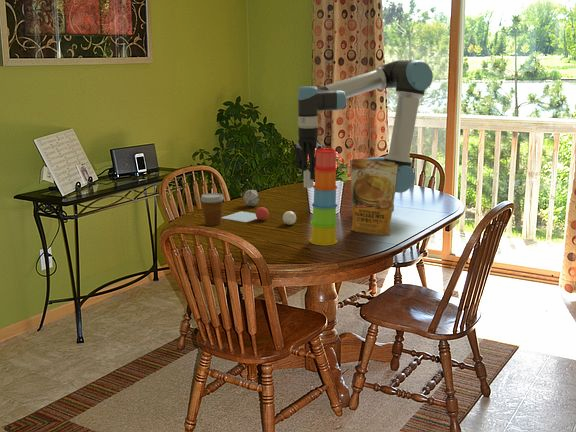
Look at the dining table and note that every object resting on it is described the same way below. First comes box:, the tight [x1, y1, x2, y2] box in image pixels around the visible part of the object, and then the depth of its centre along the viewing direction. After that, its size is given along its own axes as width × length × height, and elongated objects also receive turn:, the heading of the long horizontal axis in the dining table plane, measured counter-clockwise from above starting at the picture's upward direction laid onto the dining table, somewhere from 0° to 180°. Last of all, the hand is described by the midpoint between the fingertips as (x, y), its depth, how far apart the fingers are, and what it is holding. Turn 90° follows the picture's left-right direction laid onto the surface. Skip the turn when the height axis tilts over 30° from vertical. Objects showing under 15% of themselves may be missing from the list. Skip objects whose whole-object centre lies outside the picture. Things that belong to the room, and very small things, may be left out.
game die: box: [241, 188, 262, 208], centre depth 321 cm, size 9×8×10 cm
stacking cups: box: [309, 147, 338, 247], centre depth 258 cm, size 10×10×35 cm
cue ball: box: [282, 210, 297, 225], centre depth 288 cm, size 6×6×6 cm
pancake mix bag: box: [349, 158, 398, 237], centre depth 271 cm, size 7×19×28 cm, turn 58°
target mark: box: [221, 210, 259, 223], centre depth 302 cm, size 14×14×1 cm
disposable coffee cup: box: [200, 192, 225, 227], centre depth 290 cm, size 10×10×12 cm
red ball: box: [254, 206, 270, 221], centre depth 296 cm, size 6×6×6 cm
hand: (308, 187), depth 279 cm, fingers closed
